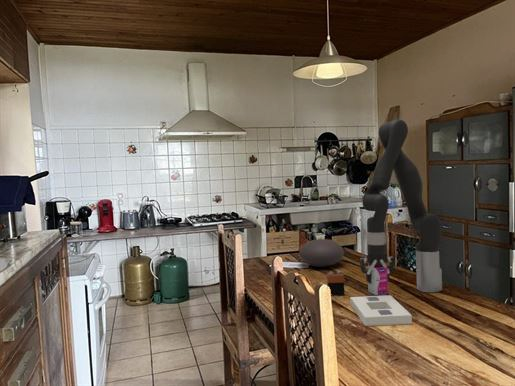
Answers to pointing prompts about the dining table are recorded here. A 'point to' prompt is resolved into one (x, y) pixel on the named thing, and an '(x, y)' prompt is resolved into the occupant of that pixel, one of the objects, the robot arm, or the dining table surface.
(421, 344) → the dining table surface
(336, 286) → the battery
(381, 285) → the supplement box
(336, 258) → the smooth stone
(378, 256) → the robot arm
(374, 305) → the light grey flat block
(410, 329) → the dining table surface
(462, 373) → the dining table surface
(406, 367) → the dining table surface
